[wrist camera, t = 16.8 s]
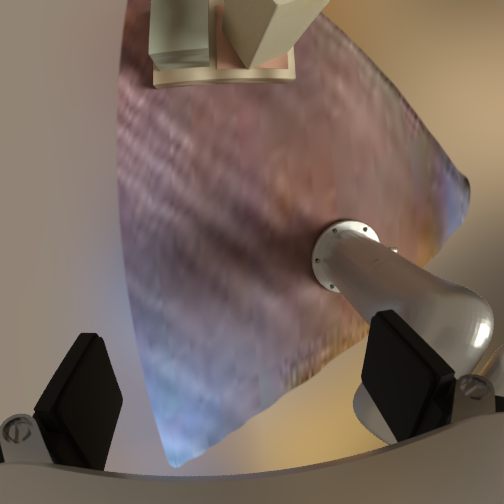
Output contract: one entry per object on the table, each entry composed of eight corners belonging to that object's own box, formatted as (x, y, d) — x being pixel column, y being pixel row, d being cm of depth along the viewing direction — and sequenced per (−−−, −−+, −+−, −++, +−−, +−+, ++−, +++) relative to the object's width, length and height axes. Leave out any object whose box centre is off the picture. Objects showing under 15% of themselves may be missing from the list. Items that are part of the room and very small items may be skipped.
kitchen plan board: (285, 7, 38) (302, -25, 27) (290, 83, 42) (311, 63, 31) (158, 12, 36) (145, -21, 25) (157, 89, 40) (140, 70, 30)
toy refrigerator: (293, 52, 38) (348, -14, 18) (248, 72, 38) (274, 6, 18) (266, 11, 35) (299, -71, 15) (221, 29, 36) (226, -54, 16)
